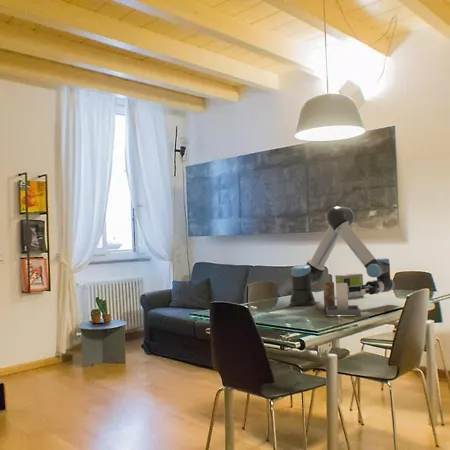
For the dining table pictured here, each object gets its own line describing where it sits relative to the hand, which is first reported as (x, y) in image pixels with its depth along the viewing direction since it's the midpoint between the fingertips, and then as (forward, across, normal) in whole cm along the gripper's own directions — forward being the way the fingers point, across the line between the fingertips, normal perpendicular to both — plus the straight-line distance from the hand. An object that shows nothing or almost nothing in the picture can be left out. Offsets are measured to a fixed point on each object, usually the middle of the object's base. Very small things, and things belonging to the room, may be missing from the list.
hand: (350, 291), depth 270 cm
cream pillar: (+7, 0, -10) cm, 12 cm away
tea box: (-48, +37, -11) cm, 62 cm away
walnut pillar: (0, +15, -11) cm, 19 cm away
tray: (+8, 0, -11) cm, 13 cm away
